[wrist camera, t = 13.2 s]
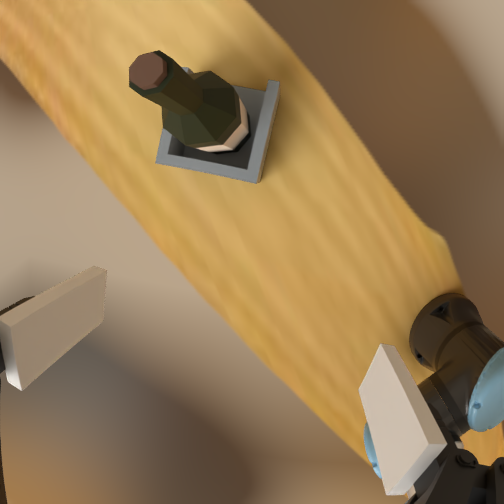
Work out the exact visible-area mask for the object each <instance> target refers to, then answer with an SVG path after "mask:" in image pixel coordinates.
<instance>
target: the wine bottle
mask: <svg viewBox="0 0 504 504" xmlns="http://www.w3.org/2000/svg"><path fill="white" fill-rule="evenodd" d="M129 87H130V88H132V89H133V90H134V91H136V92H137V93H138V94H140V95H141V96H142V97H144V98H146V99H148V100H150V101H152V102H154V103H156V104H158V105H160V106H162V120H163V128H164V129H165V130H167V131H168V132H169V133H170V134H172V135H173V136H174V137H175V138H177V139H178V140H179V141H180V142H182V143H183V144H184V145H186V146H189V147H193V148H197V149H200V150H204V151H207V152H211V153H214V154H223V153H232V152H238V151H239V150H240V149H241V147H242V146H243V145H244V144H245V143H246V142H247V140H248V139H249V138H250V137H251V126H250V116H249V114H248V112H247V110H246V108H245V106H244V105H243V103H242V101H241V99H240V97H239V96H238V94H237V92H236V90H235V88H234V87H233V86H231V85H230V84H229V83H227V82H226V81H224V80H223V79H222V78H220V77H219V76H217V75H216V74H214V73H213V72H212V71H205V72H199V73H194V74H187V73H186V72H185V71H184V70H183V69H182V68H181V67H180V66H179V65H178V64H177V63H176V62H175V61H174V60H173V59H172V58H170V57H169V56H167V55H166V54H164V53H163V52H161V51H160V50H158V51H154V52H150V53H146V54H143V55H140V56H138V57H137V58H136V60H135V61H134V62H133V63H132V65H131V66H130V67H129Z"/></svg>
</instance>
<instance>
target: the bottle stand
mask: <svg viewBox="0 0 504 504" xmlns="http://www.w3.org/2000/svg"><path fill="white" fill-rule="evenodd" d="M181 68H182V69H183V70H184V71H185V72H186V73H187V74H194V73H193V72H192V71H191V70H190V69H189V68H187V67H181ZM231 86H233V85H231ZM233 87H234V88H235V90H236V92H237V94H238V96H239V97H240V99H241V101H242V103H243V105H244V106H245V108H246V110H247V112H248V114H249V116H250V126H251V137H250V138H249V139H248V140H247V142H246V143H245V144H244V145H243V146H242V147H241V149H240V150H239V151H238V152H232V153H223V154H214V153H211V152H207V151H204V150H200V149H197V148H193V147H189V146H186V145H184V144H183V143H182V142H180V141H179V140H178V139H177V138H175V137H174V136H173V135H172V134H170V133H169V132H168V131H167V130H165V129H164V128H163V129H162V134H161V138H160V143H159V148H158V153H157V157H156V162H155V163H157V164H162V165H168V166H173V167H179V168H184V169H189V170H194V171H199V172H204V173H209V174H214V175H219V176H224V177H228V178H233V179H237V180H242V181H246V182H251V183H255V184H257V183H259V182H260V180H261V176H262V171H263V167H264V163H265V158H266V154H267V150H268V145H269V141H270V137H271V133H272V128H273V124H274V120H275V116H276V111H277V107H278V103H279V99H280V82H278V81H274V80H268V84H267V88H266V91H261V90H256V89H251V88H245V87H239V86H233Z"/></svg>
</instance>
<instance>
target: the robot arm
mask: <svg viewBox="0 0 504 504" xmlns="http://www.w3.org/2000/svg"><path fill="white" fill-rule="evenodd" d="M106 276H107V270H105V269H102V268H99V267H96V266H93V267H91V268H89V269H87V270H85V271H83V272H81V273H79V274H77V275H75V276H73V277H72V278H69V279H68V280H65V281H64V282H62V283H60V284H58V285H56V286H54V287H52V288H51V289H48V290H46V291H45V292H43V293H41V294H39V295H37V296H32V297H28V298H24V299H22V300H20V301H18V302H16V303H15V304H13V305H11V306H9V308H8V307H7V308H5V309H3V310H1V311H0V373H1V372H3V371H4V370H5V371H6V375H7V380H8V382H9V383H11V384H12V385H13V386H15V387H17V388H18V389H20V390H21V391H22V390H23V389H24V388H26V387H27V386H28V385H29V384H30V383H31V382H32V381H34V380H35V379H36V378H37V377H38V376H39V375H40V374H41V373H43V372H44V371H45V370H46V369H47V368H48V367H49V366H51V365H52V364H53V363H54V362H55V361H57V360H58V359H59V358H60V357H61V356H62V355H63V354H65V353H66V352H67V351H68V350H69V349H70V348H72V347H73V346H74V345H75V344H76V343H78V342H79V341H80V340H81V339H82V338H84V337H85V336H86V335H87V334H88V333H89V332H91V331H92V330H93V329H94V328H95V327H97V326H98V325H99V324H100V323H101V322H103V321H104V304H105V303H104V302H105V287H106ZM409 343H410V348H411V351H412V353H413V355H414V356H415V358H416V359H417V361H418V362H419V363H420V364H421V365H422V366H424V367H426V368H428V369H430V370H432V371H434V372H435V373H434V374H432V375H431V376H430V377H428V378H427V379H425V380H424V381H423V382H421V383H420V384H418V385H416V383H415V381H414V380H413V378H412V376H411V374H410V372H409V371H408V369H407V367H406V365H405V364H404V362H403V360H402V358H401V357H400V355H399V353H398V351H397V350H396V348H395V346H392V345H386V344H381V343H380V345H379V348H378V350H377V352H376V354H375V356H374V359H373V361H372V363H371V365H370V367H369V369H368V371H367V374H366V376H365V378H364V380H363V382H362V384H361V386H360V388H359V394H360V397H361V401H362V404H363V408H364V411H365V415H366V418H367V423H366V424H365V427H364V443H365V448H366V452H367V455H368V458H369V461H370V462H371V463H372V466H373V469H374V471H375V473H376V474H377V475H378V476H379V477H380V478H381V479H382V480H383V484H384V488H385V492H386V495H404V494H405V493H406V492H407V495H408V497H409V500H408V501H407V502H406V503H405V504H504V457H500V458H497V459H496V460H495V461H494V463H493V464H492V465H491V466H485V465H480V464H479V463H478V461H477V458H476V457H475V456H474V455H473V454H472V453H471V452H469V451H468V450H465V449H463V448H464V445H463V443H462V441H461V439H460V436H462V434H464V433H466V432H467V431H468V430H470V429H473V430H475V431H477V432H484V431H486V430H487V429H492V428H493V427H495V426H496V425H498V424H499V423H500V422H501V421H503V420H504V342H503V341H501V339H499V338H498V337H497V336H496V335H495V334H494V333H493V332H492V331H490V330H489V329H488V328H487V327H486V326H485V325H484V324H483V322H482V319H481V317H480V315H479V312H478V310H477V308H476V306H475V305H474V304H473V303H472V302H471V301H470V300H469V299H467V298H466V297H465V296H463V295H461V294H456V293H449V294H445V295H442V296H439V297H437V298H435V299H434V300H432V301H431V302H430V303H428V304H427V305H426V306H425V307H424V308H423V309H422V310H421V312H420V313H419V314H418V316H417V317H416V319H415V321H414V323H413V325H412V328H411V332H410V338H409ZM430 380H431V381H430ZM432 383H433V384H432ZM435 388H436V389H435ZM0 389H1V379H0ZM437 391H438V392H437ZM438 393H439V394H438ZM440 396H441V397H440ZM441 398H442V399H441ZM443 401H444V402H443ZM444 403H445V404H444ZM446 406H447V407H446ZM447 408H448V409H447ZM450 413H451V414H450ZM0 504H7V498H6V492H5V485H4V477H3V468H2V456H1V440H0Z"/></svg>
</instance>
